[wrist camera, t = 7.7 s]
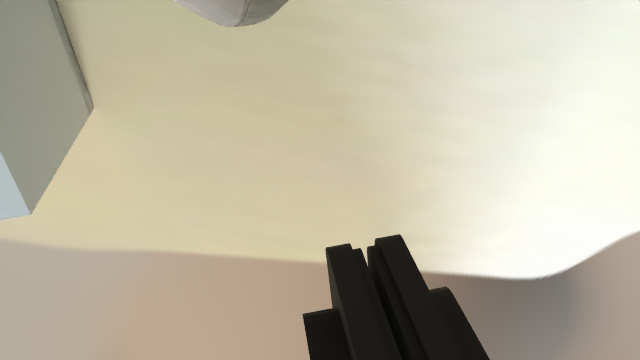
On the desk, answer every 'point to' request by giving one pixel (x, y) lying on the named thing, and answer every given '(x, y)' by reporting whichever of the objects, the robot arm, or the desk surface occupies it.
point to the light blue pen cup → (36, 101)
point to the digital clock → (233, 10)
